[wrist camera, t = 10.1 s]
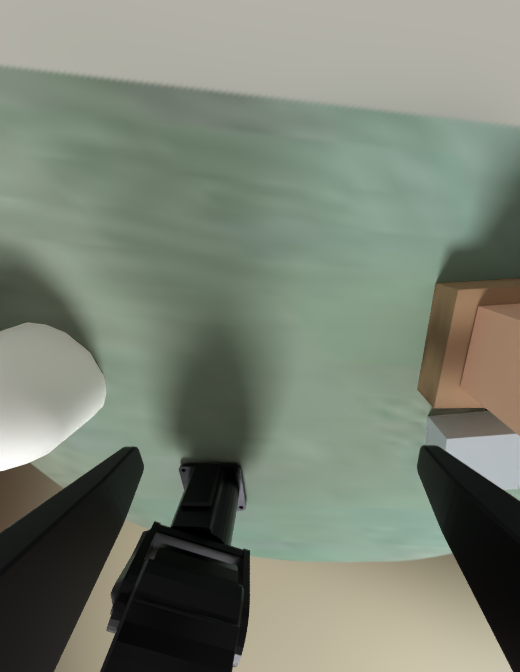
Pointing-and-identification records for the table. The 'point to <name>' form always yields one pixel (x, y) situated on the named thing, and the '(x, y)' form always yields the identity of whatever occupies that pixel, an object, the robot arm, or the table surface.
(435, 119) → the table surface
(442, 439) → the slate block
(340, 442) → the table surface
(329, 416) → the table surface
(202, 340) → the table surface
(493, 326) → the terracotta block
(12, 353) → the teardrop
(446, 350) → the walnut block
